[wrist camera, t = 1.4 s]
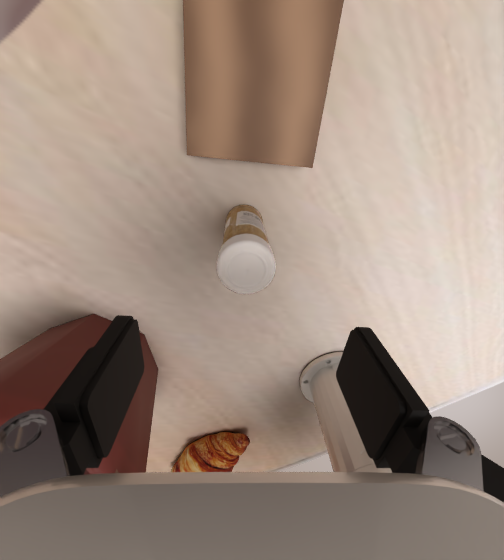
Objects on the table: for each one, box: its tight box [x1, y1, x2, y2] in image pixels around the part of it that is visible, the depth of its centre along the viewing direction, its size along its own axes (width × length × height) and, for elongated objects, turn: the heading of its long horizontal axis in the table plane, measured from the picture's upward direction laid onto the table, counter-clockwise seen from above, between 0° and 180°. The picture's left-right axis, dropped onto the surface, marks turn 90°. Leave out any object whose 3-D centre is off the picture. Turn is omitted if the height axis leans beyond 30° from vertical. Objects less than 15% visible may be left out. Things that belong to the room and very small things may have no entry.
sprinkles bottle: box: [217, 205, 276, 294], centre depth 25 cm, size 5×5×13 cm
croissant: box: [171, 432, 250, 472], centre depth 50 cm, size 21×10×8 cm, turn 130°
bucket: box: [0, 314, 158, 475], centre depth 29 cm, size 24×22×25 cm
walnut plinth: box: [183, 0, 344, 168], centre depth 23 cm, size 12×12×4 cm
